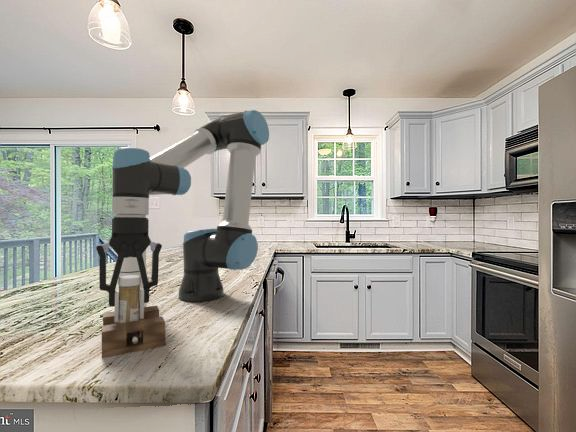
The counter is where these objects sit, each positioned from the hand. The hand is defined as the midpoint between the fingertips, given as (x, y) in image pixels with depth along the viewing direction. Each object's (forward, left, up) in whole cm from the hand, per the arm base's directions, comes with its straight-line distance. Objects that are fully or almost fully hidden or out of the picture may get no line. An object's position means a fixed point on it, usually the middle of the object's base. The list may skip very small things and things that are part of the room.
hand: (129, 318), depth 72 cm
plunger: (-1, +5, -4) cm, 6 cm away
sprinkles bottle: (0, 0, -4) cm, 4 cm away
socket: (-1, 0, -5) cm, 5 cm away
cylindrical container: (-2, -20, -5) cm, 21 cm away
